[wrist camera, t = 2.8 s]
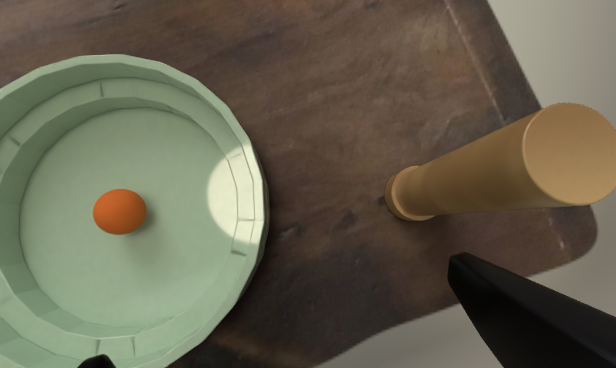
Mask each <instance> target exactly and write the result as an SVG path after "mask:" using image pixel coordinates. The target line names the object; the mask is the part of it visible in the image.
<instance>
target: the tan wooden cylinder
mask: <svg viewBox="0 0 616 368" xmlns="http://www.w3.org/2000/svg"><path fill="white" fill-rule="evenodd" d="M615 188H616V129H615V128H614V127H613V125H612V124H611V123H610V122H609V121H608V120H607V119H606V118H605V117H604V116H603V115H601V114H600V113H599V112H597V111H596V110H594V109H592V108H589V107H587V106H585V105H581V104H576V103H557V104H553V105H550V106H548V107H545V108H543V109H541V110H539V111H537V112H535V113H533V114H530V115H528V116H526V117H524V118H522V119H520V120H518V121H516V122H513V123H511V124H509V125H507V126H505V127H503V128H501V129H499V130H496V131H494V132H492V133H490V134H488V135H486V136H484V137H482V138H480V139H477V140H475V141H473V142H471V143H469V144H467V145H465V146H463V147H460V148H458V149H456V150H454V151H452V152H450V153H448V154H446V155H443V156H441V157H439V158H437V159H435V160H433V161H431V162H429V163H426V164H424V165H422V166H412V167H408V168H406V169H404V170H402V171H400V172H398V173H396V174H395V175H393V176H392V177H391V178H390V179H389V181H388V182H387V184H386V187H385V193H384V194H385V201H386V204H387V207H388V208H389V210H390V211H391V212H392V213H393V214H394V215H395V216H397V217H398V218H400V219H403V220H407V221H421V220H427V219H430V218H432V217H434V216H435V215H445V214H461V213H476V212H491V211H506V210H522V209H537V208H552V207H567V206H582V205H589V204H593V203H596V202H598V201H600V200H602V199H604V198H605V197H607V196H608V195H609V194H610V193H611V192H613V190H614V189H615Z"/></svg>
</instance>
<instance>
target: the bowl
mask: <svg viewBox="0 0 616 368" xmlns="http://www.w3.org/2000/svg"><path fill="white" fill-rule="evenodd" d="M114 189H127V190H131V191H133V192H135V193H137V194H138V195H139V196H140V197H141V198H142V199H143V201H144V202H145V205H146V217H145V219H144V221H143V223H142V224H141V225H140V226H139V227H138V228H137V229H136V230H134V231H132V232H130V233H127V234H123V235H114V234H110V233H107V232H105V231H103V230H101V229H100V228H99V227H98V226H97V224H96V223H95V221H94V218H93V208H94V205H95V203H96V201H97V200H98V198H99V197H101V196H102V195H103V194H104V193H106V192H108V191H111V190H114ZM269 225H270V206H269V187H268V183H267V180H266V177H265V174H264V171H263V168H262V165H261V162H260V159H259V156H258V153H257V151H256V150H255V148H254V146H253V144H252V142H251V141H250V139H249V137H248V136H247V134H246V133H245V131H244V130H243V128H242V127H241V125H240V124H239V122H238V121H237V119H236V118H235V116H234V115H233V113H232V112H231V110H230V109H229V107H228V106H227V105H226V104H225V103H224V102H223V101H221V100H220V99H219V98H218V97H217V96H216V95H214V94H213V93H212V92H211V91H210V90H209V89H208V88H206V87H205V86H204V85H203V84H202V83H201V82H200V81H198V80H197V79H195V78H193V77H191V76H189V75H187V74H185V73H182V72H180V71H178V70H176V69H174V68H172V67H170V66H168V65H166V64H164V63H161V62H158V61H153V60H148V59H143V58H138V57H133V56H128V55H123V54H122V55H121V54H113V55H90V56H77V57H74V58H71V59H67V60H64V61H60V62H57V63H53V64H50V65H46V66H43V67H39V68H37V69H35V70H33V71H31V72H30V73H28V74H26V75H24V76H22V77H21V78H19V79H17V80H15V81H14V82H12V83H10V84H8V85H6V86H5V87H3V88H1V89H0V368H77V367H78V366H79V365H80V364H81V363H82V362H83V361H84V360H85V359H87V358H90V357H93V356H97V355H100V354H106V355H108V356H109V358H110V359H111V361H112V362H113V363H114V365H115V366H116V368H166V367H167V366H168V365H170V364H171V363H173V362H174V361H176V360H177V359H178V358H180V357H181V356H183V355H184V354H186V353H187V352H189V351H190V350H191V349H193V348H194V347H196V346H197V345H199V344H200V343H202V342H203V341H204V340H205V339H206V338H207V337H208V335H209V334H210V333H211V332H212V331H213V330H214V329H215V327H216V326H217V325H218V324H219V323H220V322H221V321H222V319H223V318H224V317H225V316H226V315H227V314H228V312H229V311H230V310H231V309H232V308H233V307H234V305H235V304H236V303H237V302H238V300H239V299H240V298H241V296H242V295H243V294H244V293H245V291H246V290H247V288H248V286H249V284H250V282H251V280H252V278H253V276H254V274H255V272H256V270H257V268H258V266H259V264H260V262H261V260H262V257H263V254H264V249H265V244H266V239H267V235H268V230H269Z"/></svg>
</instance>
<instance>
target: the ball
mask: <svg viewBox="0 0 616 368" xmlns="http://www.w3.org/2000/svg"><path fill="white" fill-rule="evenodd" d="M145 217H146V205H145V202H144V201H143V199H142V198H141V197H140V196H139V195H138V194H137V193H135V192H133V191H131V190H127V189H114V190H111V191H108V192H106V193H104V194H103V195H102V196H101V197H99V198H98V200H97V201H96V203H95V205H94V208H93V218H94V221H95V223H96V224H97V226H98V227H99V228H100V229H101V230H103V231H105V232H107V233H110V234H114V235H123V234H127V233H130V232H132V231H134V230H136V229H137V228H138V227H139V226H140V225H141V224H142V223H143V221H144V219H145Z"/></svg>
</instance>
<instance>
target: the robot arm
mask: <svg viewBox="0 0 616 368" xmlns="http://www.w3.org/2000/svg"><path fill="white" fill-rule="evenodd" d="M448 282H449V285H450V287H451V288H452V290H453V292H454V293H455V295H456V297H457V298H458V300H459V302H460V303H461V305H462V307H463V308H464V310H465V311H466V313H467V315H468V316H469V318H470V320H471V321H472V323H473V325H474V326H475V328H476V330H477V331H478V333H479V334H480V336H481V337H482V339H483V340H484V341H485V343H486V344H487V346H488V347H489V348H490V350H491V351H492V353H493V354H494V355H495V357H496V358H497V359H498V361H499V362H500V363H501V365H502V366H503V367H504V368H616V317H614V316H612V315H610V314H607V313H605V312H603V311H600V310H598V309H596V308H593V307H591V306H589V305H587V304H584V303H582V302H580V301H577V300H575V299H573V298H570V297H568V296H566V295H564V294H561V293H559V292H556V291H554V290H552V289H550V288H547V287H545V286H543V285H540V284H538V283H536V282H533V281H531V280H529V279H527V278H524V277H522V276H520V275H517V274H515V273H513V272H510V271H508V270H506V269H504V268H501V267H499V266H497V265H494V264H492V263H490V262H487V261H485V260H483V259H480V258H478V257H476V256H474V255H471V254H469V253H466V252H462V253H458V254H455V255H452V256H451V257H450V259H449V267H448ZM77 368H116V366H115V365H114V363H113V362H112V361H111V359H110V358H109V356H108V355H106V354H100V355H97V356H93V357H90V358H87V359H85V360H84V361H83V362H82V363H81V364H80V365H79V366H78V367H77Z"/></svg>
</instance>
